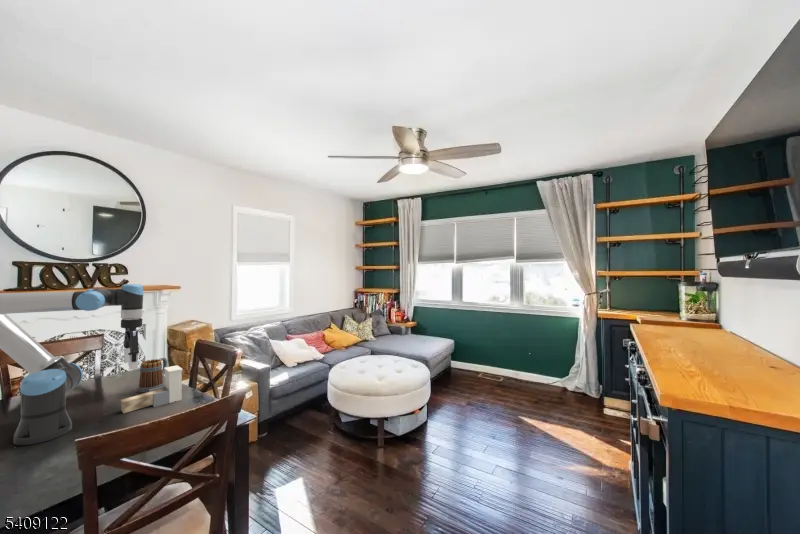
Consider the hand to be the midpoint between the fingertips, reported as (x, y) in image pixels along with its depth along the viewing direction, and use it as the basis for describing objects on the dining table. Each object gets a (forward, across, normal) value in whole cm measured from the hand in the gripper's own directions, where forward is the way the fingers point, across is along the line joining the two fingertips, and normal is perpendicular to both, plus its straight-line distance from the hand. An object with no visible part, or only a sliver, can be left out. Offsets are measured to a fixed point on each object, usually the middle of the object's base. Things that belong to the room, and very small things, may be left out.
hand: (130, 365), depth 148 cm
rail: (+19, -2, -5) cm, 20 cm away
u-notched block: (+19, -1, -14) cm, 24 cm away
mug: (+20, +22, -14) cm, 32 cm away
